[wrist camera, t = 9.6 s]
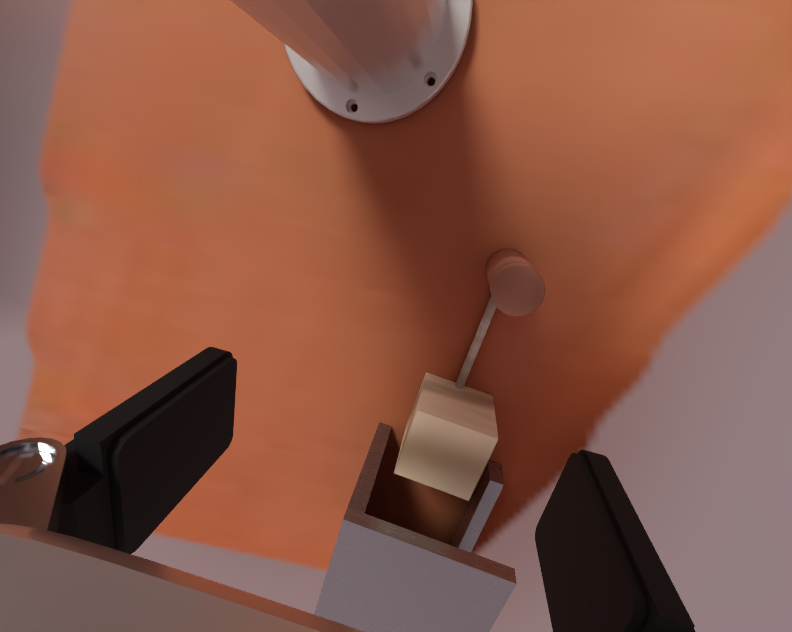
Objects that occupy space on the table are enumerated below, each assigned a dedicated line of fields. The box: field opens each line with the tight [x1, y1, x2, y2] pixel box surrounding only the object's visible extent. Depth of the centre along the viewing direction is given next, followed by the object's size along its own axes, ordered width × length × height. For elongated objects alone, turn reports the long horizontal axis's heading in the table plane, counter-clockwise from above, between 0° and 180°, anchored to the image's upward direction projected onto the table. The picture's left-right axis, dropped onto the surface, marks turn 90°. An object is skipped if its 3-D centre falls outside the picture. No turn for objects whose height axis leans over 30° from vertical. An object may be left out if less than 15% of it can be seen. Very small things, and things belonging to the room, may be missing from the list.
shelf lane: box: [314, 423, 516, 632], centre depth 32 cm, size 13×12×11 cm
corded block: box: [394, 249, 545, 501], centre depth 28 cm, size 18×6×7 cm, turn 163°
